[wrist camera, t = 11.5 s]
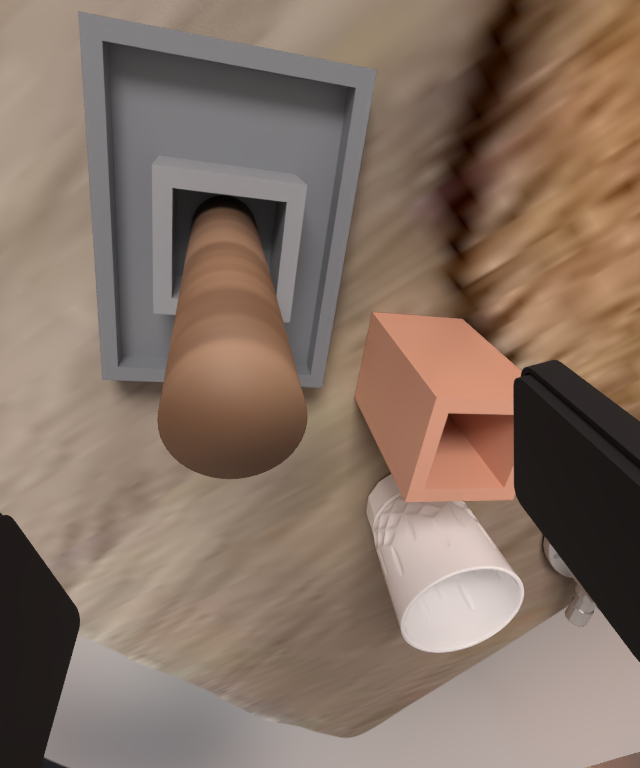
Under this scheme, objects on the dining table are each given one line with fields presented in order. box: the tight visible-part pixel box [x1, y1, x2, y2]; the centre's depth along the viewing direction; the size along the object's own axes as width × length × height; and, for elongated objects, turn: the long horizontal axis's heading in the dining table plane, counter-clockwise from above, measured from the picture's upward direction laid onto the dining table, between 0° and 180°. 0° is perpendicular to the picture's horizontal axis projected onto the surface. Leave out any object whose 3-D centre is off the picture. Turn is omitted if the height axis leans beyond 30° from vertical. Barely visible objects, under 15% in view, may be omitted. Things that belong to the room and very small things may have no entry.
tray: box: [78, 11, 377, 388], centre depth 24 cm, size 16×12×4 cm
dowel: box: [158, 195, 307, 479], centre depth 18 cm, size 3×3×17 cm
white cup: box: [366, 474, 524, 653], centre depth 34 cm, size 8×8×10 cm
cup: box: [355, 312, 522, 502], centre depth 28 cm, size 6×6×10 cm
